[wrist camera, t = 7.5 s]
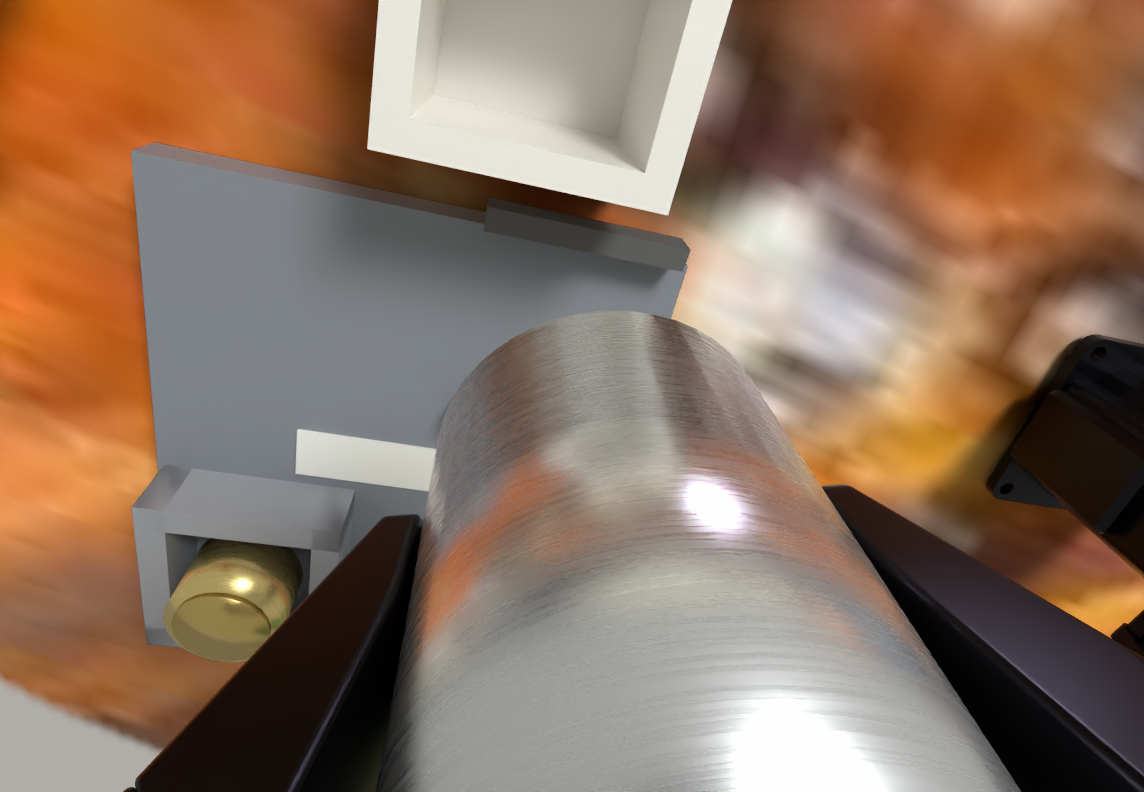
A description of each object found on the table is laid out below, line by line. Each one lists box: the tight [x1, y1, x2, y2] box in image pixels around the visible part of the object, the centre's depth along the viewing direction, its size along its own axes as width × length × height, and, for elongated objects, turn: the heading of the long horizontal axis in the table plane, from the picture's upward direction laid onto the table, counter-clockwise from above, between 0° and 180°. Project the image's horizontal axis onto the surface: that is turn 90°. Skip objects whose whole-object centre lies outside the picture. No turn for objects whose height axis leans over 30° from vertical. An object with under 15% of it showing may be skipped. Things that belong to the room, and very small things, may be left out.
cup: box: [367, 0, 732, 215], centre depth 14 cm, size 6×6×5 cm
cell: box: [376, 311, 1021, 792], centre depth 6 cm, size 4×4×7 cm
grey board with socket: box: [131, 142, 690, 647], centre depth 20 cm, size 14×16×3 cm
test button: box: [163, 538, 303, 663], centre depth 20 cm, size 3×3×2 cm
